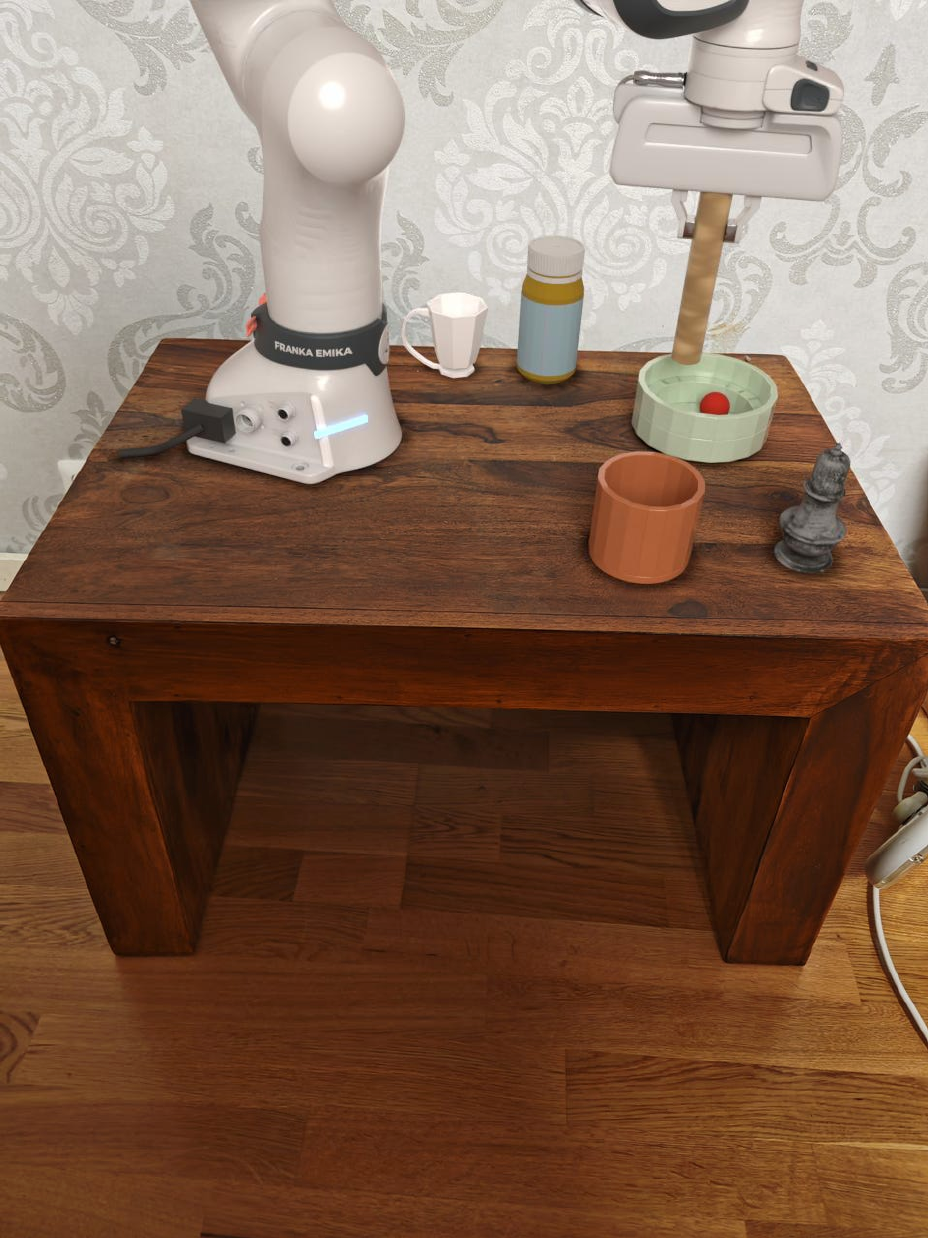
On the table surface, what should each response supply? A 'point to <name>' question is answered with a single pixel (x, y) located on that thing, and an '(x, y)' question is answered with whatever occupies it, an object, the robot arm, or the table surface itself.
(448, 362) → the cup
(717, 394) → the ball
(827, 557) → the grey chess piece
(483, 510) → the table surface
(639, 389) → the bowl
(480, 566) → the table surface
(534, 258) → the bottle
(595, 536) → the crock
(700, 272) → the stick
